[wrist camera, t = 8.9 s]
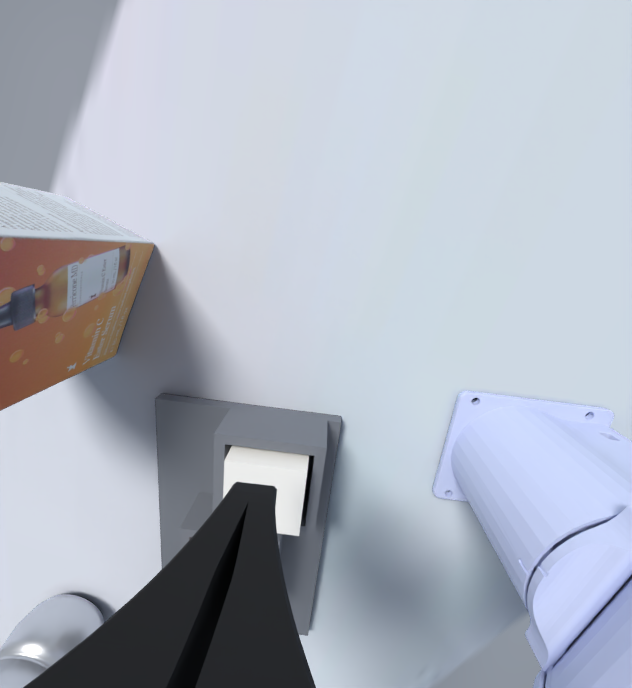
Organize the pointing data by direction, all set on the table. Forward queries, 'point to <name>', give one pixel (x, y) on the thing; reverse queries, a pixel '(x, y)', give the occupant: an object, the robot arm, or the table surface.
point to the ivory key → (271, 480)
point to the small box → (61, 288)
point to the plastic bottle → (46, 637)
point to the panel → (208, 476)
